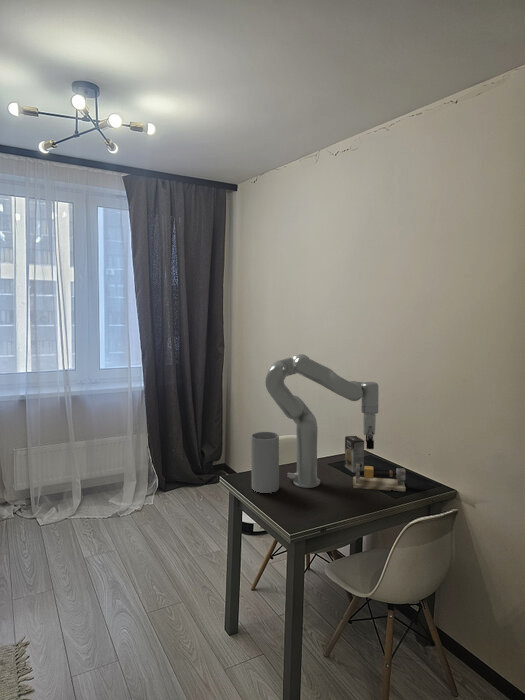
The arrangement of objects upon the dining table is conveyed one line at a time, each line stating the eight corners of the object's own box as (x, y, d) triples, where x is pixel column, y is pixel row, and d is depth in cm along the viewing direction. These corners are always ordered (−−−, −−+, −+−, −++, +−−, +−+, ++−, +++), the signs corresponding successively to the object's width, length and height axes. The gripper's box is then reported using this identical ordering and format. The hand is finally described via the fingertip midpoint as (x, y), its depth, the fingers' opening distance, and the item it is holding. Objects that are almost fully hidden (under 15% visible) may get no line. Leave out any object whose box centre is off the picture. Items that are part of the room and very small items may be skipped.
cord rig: (353, 487, 210) (353, 469, 209) (353, 479, 220) (353, 462, 219) (405, 491, 206) (406, 472, 205) (403, 482, 216) (403, 465, 215)
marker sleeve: (364, 477, 212) (364, 469, 211) (364, 474, 216) (364, 465, 216) (373, 478, 211) (373, 469, 211) (372, 475, 215) (373, 466, 215)
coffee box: (344, 466, 237) (344, 436, 235) (355, 465, 239) (355, 435, 237) (352, 473, 228) (353, 441, 227) (364, 471, 230) (364, 440, 229)
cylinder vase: (279, 494, 204) (279, 439, 201) (251, 494, 204) (250, 440, 201) (278, 483, 216) (278, 431, 213) (251, 483, 216) (251, 431, 213)
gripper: (361, 404, 219) (361, 439, 221) (361, 413, 202) (361, 451, 204) (377, 405, 218) (377, 440, 220) (379, 414, 201) (379, 452, 203)
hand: (369, 445), depth 212 cm, fingers open, 9 cm apart
